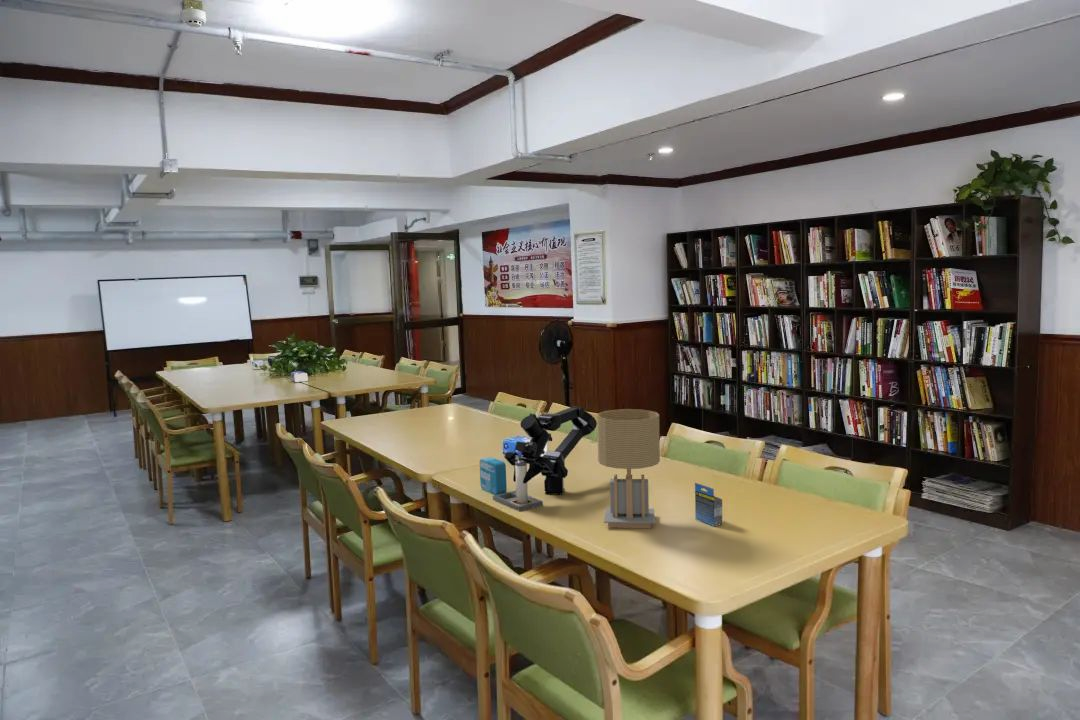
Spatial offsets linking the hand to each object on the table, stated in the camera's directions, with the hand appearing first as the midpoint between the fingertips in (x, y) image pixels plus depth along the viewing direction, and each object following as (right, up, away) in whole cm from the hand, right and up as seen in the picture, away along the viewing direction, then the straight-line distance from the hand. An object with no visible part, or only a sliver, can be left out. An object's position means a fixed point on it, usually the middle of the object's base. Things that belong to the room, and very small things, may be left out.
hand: (519, 482), depth 248 cm
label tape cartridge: (+61, -10, -20) cm, 65 cm away
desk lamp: (+36, -10, -18) cm, 42 cm away
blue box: (-10, -7, +21) cm, 25 cm away
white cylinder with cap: (+1, -8, +2) cm, 8 cm away
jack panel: (-1, -8, +6) cm, 10 cm away
